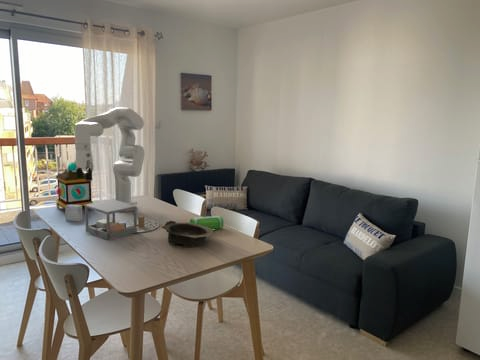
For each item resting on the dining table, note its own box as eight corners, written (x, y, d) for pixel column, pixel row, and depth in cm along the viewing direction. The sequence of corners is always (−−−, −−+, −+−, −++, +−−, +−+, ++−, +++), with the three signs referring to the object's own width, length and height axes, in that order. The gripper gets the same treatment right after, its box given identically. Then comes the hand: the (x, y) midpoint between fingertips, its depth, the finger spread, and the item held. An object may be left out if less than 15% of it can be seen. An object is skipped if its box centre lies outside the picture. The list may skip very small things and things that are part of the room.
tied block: (140, 225, 203) (140, 215, 202) (147, 227, 200) (147, 217, 199) (107, 234, 187) (107, 223, 186) (114, 236, 184) (114, 225, 183)
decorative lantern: (85, 203, 245) (83, 159, 239) (97, 210, 231) (95, 163, 225) (53, 207, 231) (51, 161, 226) (64, 215, 217) (61, 165, 212)
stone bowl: (151, 244, 175) (152, 225, 174) (182, 234, 197) (183, 217, 196) (193, 254, 164) (194, 234, 163) (221, 242, 186) (223, 224, 185)
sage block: (106, 227, 198) (106, 218, 197) (113, 229, 194) (113, 221, 193) (96, 230, 193) (96, 221, 192) (103, 232, 190) (103, 223, 189)
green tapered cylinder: (219, 226, 207) (219, 213, 206) (223, 230, 201) (224, 217, 199) (189, 229, 200) (189, 216, 199) (192, 233, 194) (193, 219, 193)
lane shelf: (114, 224, 204) (113, 199, 201) (136, 232, 192) (136, 206, 189) (85, 231, 190) (84, 204, 188) (108, 240, 179) (107, 212, 176)
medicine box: (82, 219, 210) (82, 205, 208) (78, 221, 205) (78, 207, 204) (69, 218, 210) (69, 204, 209) (65, 220, 206) (64, 206, 204)
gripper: (98, 148, 189) (99, 180, 192) (81, 145, 199) (82, 175, 202) (84, 148, 183) (85, 182, 186) (68, 145, 194) (69, 177, 197)
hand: (84, 178), depth 194 cm, fingers open, 9 cm apart
